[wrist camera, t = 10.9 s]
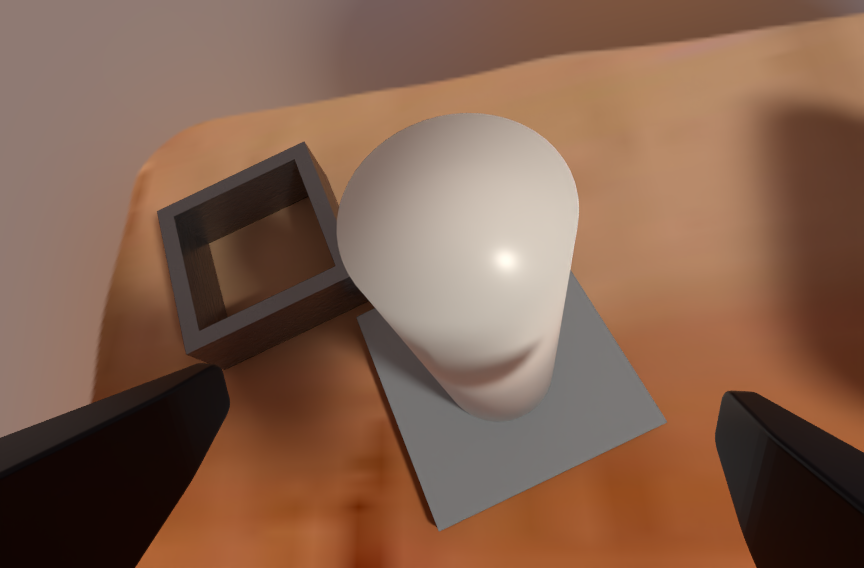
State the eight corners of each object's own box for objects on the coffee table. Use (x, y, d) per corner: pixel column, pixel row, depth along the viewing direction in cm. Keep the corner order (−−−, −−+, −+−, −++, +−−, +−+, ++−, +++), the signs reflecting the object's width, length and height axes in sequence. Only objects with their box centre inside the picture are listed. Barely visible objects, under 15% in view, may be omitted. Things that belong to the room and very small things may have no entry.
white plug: (558, 420, 20) (593, 317, 8) (442, 422, 21) (326, 332, 9) (547, 310, 22) (565, 99, 10) (442, 316, 23) (345, 127, 11)
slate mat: (663, 423, 20) (667, 422, 19) (441, 530, 20) (439, 531, 19) (543, 233, 24) (543, 227, 24) (360, 320, 24) (356, 317, 24)
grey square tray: (376, 297, 24) (357, 272, 22) (224, 369, 24) (185, 354, 22) (326, 175, 28) (304, 141, 25) (193, 238, 28) (157, 211, 25)
